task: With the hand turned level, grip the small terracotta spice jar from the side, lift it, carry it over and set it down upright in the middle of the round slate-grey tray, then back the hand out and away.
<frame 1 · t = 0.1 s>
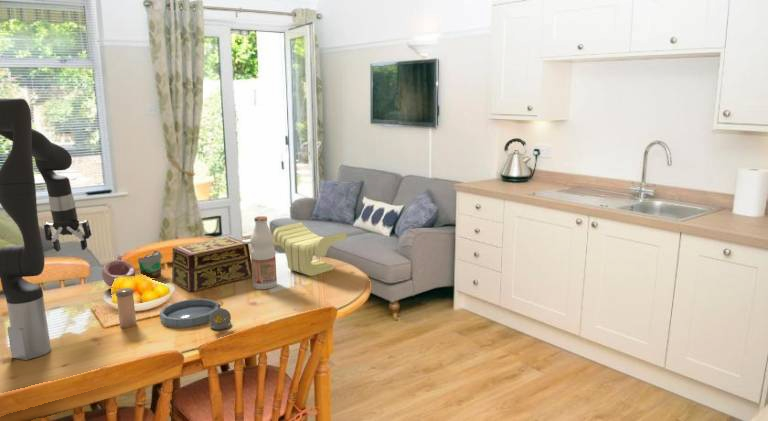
hand: (71, 249, 202), 22 cm above the table, tool pointing down, fingers open, 8 cm apart
food container: (155, 277, 242), on the table
decorative box: (213, 280, 237), on the table
slatted curved stool: (310, 270, 247), on the table
spice jar: (128, 325, 191), on the table
mortar and pestle: (120, 287, 230), on the table
round tray: (190, 316, 198), on the table
grey rounded piece: (220, 328, 188), on the table
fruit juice: (265, 286, 228), on the table
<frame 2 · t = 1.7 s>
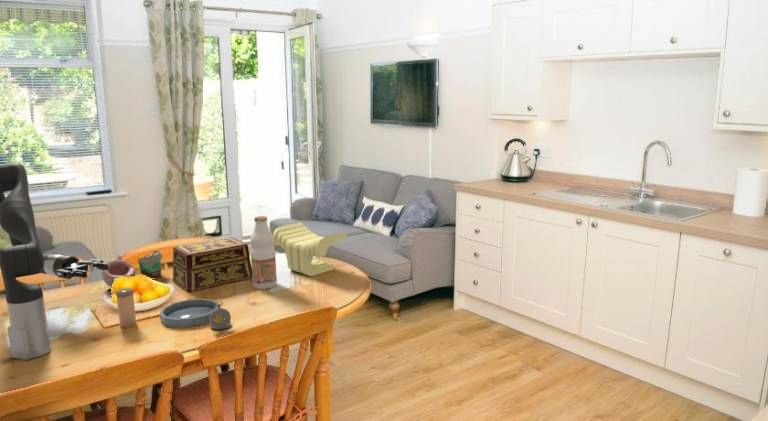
hand: (97, 270, 192), 18 cm above the table, tool horizontal, fingers open, 8 cm apart
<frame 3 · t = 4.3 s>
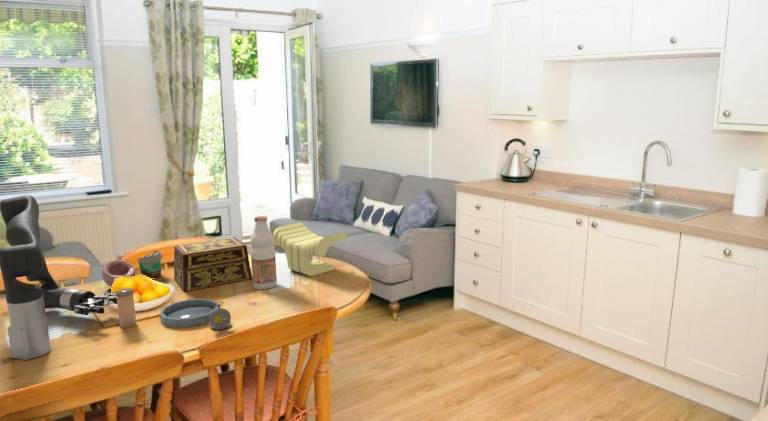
hand: (113, 306, 192), 6 cm above the table, tool horizontal, fingers open, 8 cm apart
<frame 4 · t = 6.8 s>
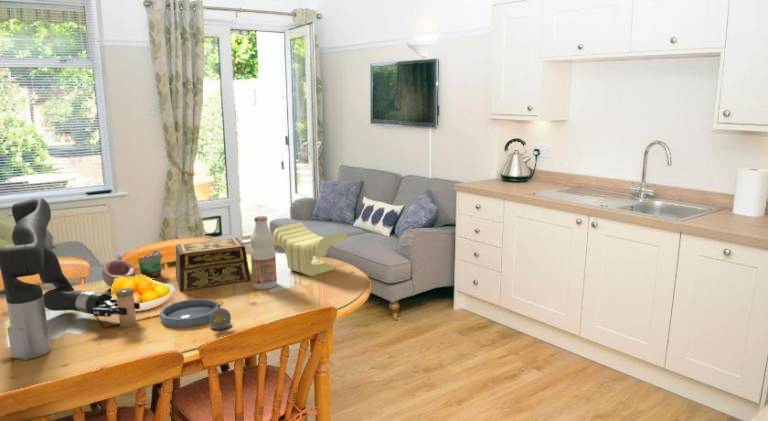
hand: (132, 308, 189), 6 cm above the table, tool horizontal, fingers closed on spice jar, 5 cm apart
spice jar: (128, 324, 191), on the table, touching gripper
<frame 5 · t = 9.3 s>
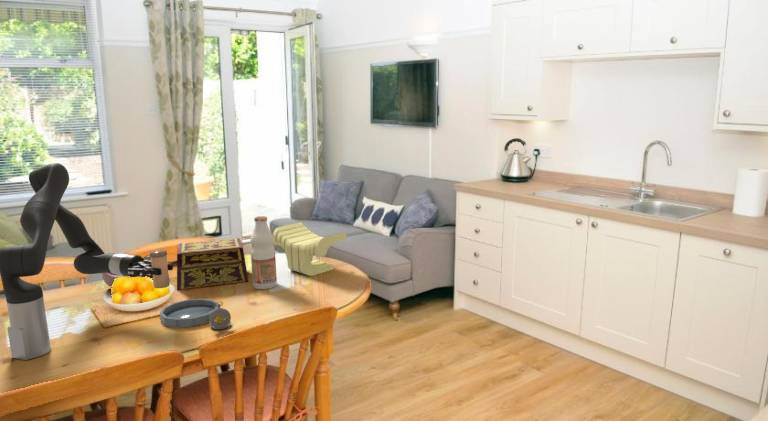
hand: (166, 269, 192), 18 cm above the table, tool horizontal, fingers closed on spice jar, 5 cm apart
spice jar: (161, 285, 194), point 12 cm above the table, touching gripper
when the fingers open (8 cm above the table, at t = 12.1 s): spice jar drops 1 cm, resting on round tray.
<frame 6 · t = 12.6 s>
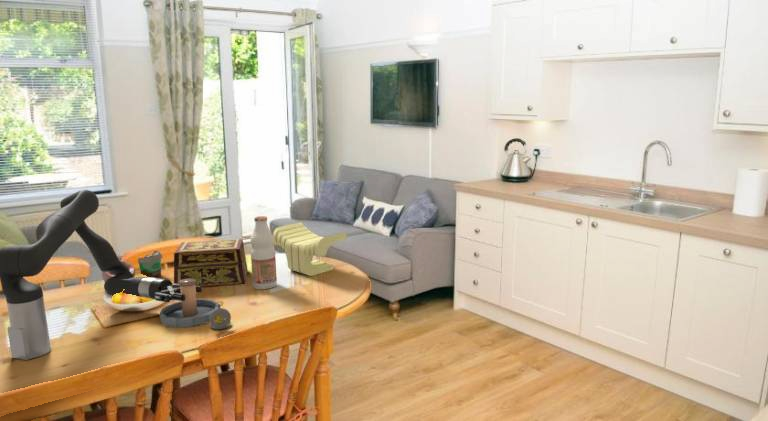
hand: (192, 293, 195), 8 cm above the table, tool horizontal, fingers open, 8 cm apart
spice jar: (190, 313, 198), point 1 cm above the table, touching round tray
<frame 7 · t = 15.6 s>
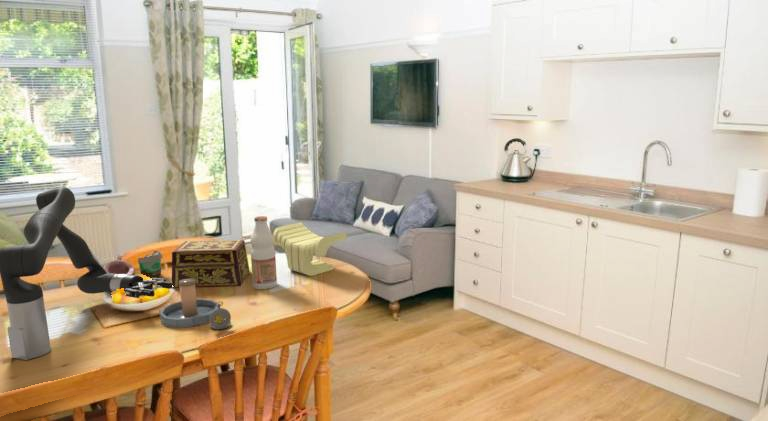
hand: (162, 289, 200), 9 cm above the table, tool horizontal, fingers open, 8 cm apart
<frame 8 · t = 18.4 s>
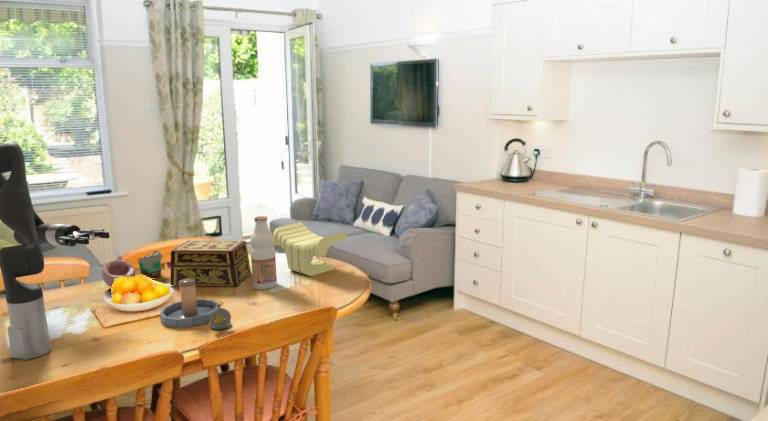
hand: (98, 238, 194), 28 cm above the table, tool horizontal, fingers open, 8 cm apart
at the end: spice jar inside the target area on the round tray (0.1 cm from its centre), point 0.8 cm above the round tray's base; spice jar tilted 0°; the gripper is holding nothing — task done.
